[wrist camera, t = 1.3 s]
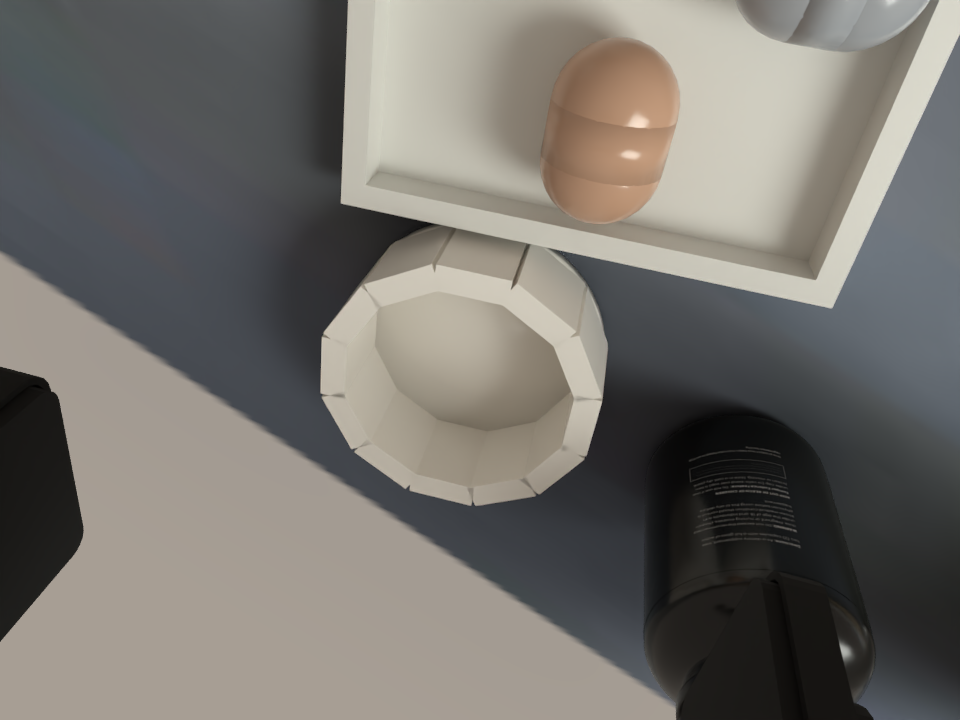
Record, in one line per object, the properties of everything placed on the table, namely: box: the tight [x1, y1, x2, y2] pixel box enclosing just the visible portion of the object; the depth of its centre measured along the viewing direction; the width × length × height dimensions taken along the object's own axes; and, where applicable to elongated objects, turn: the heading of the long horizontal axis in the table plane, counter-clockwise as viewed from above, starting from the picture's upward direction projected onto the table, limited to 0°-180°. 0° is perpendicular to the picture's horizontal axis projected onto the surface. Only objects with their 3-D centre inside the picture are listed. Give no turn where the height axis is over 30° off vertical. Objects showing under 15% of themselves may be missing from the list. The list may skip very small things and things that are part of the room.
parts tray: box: [341, 0, 960, 308], centre depth 22 cm, size 16×12×2 cm
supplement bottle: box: [644, 415, 876, 720], centre depth 25 cm, size 7×7×12 cm
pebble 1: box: [540, 37, 680, 224], centre depth 21 cm, size 5×4×4 cm
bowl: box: [320, 224, 608, 506], centre depth 27 cm, size 10×10×4 cm
